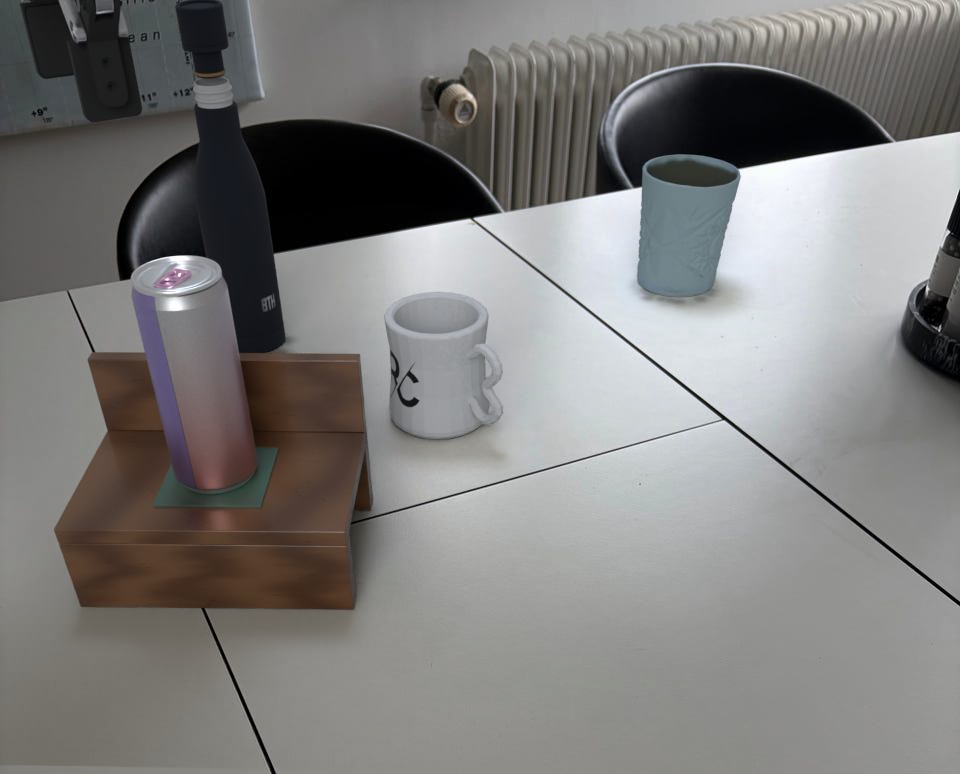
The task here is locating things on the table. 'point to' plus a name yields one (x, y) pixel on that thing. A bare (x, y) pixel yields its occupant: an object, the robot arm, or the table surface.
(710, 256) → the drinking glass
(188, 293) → the beverage can
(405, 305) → the mug
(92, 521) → the shelf
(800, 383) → the table surface
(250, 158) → the dark bottle
